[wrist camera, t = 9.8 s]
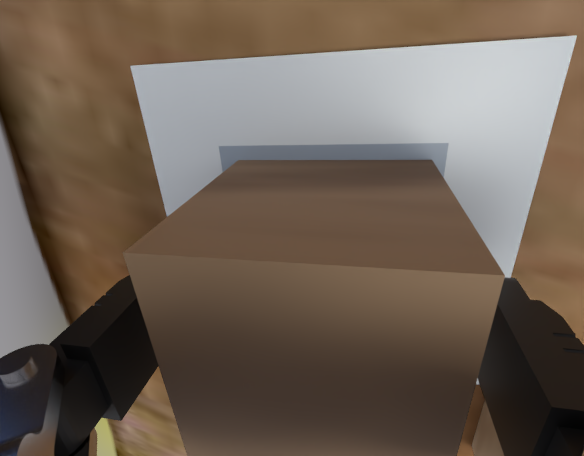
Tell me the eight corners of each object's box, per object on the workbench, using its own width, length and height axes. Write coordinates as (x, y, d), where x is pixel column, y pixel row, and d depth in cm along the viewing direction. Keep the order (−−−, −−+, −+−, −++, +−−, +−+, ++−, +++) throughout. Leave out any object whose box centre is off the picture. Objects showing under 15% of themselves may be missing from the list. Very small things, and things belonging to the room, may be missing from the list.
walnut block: (238, 160, 11) (122, 252, 6) (432, 159, 10) (505, 275, 5) (256, 305, 14) (188, 458, 9) (411, 318, 13) (443, 506, 7)
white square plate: (137, 65, 11) (130, 65, 10) (568, 36, 8) (577, 35, 8) (203, 345, 16) (199, 351, 16) (478, 376, 14) (481, 384, 13)
